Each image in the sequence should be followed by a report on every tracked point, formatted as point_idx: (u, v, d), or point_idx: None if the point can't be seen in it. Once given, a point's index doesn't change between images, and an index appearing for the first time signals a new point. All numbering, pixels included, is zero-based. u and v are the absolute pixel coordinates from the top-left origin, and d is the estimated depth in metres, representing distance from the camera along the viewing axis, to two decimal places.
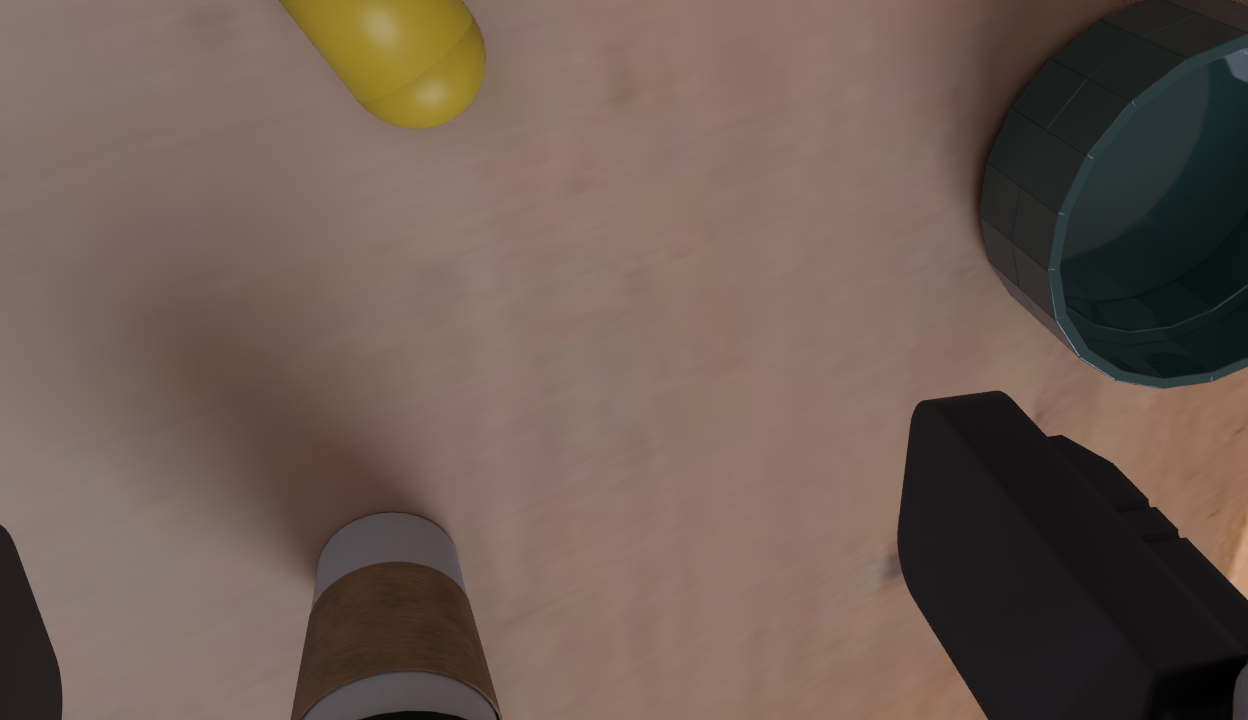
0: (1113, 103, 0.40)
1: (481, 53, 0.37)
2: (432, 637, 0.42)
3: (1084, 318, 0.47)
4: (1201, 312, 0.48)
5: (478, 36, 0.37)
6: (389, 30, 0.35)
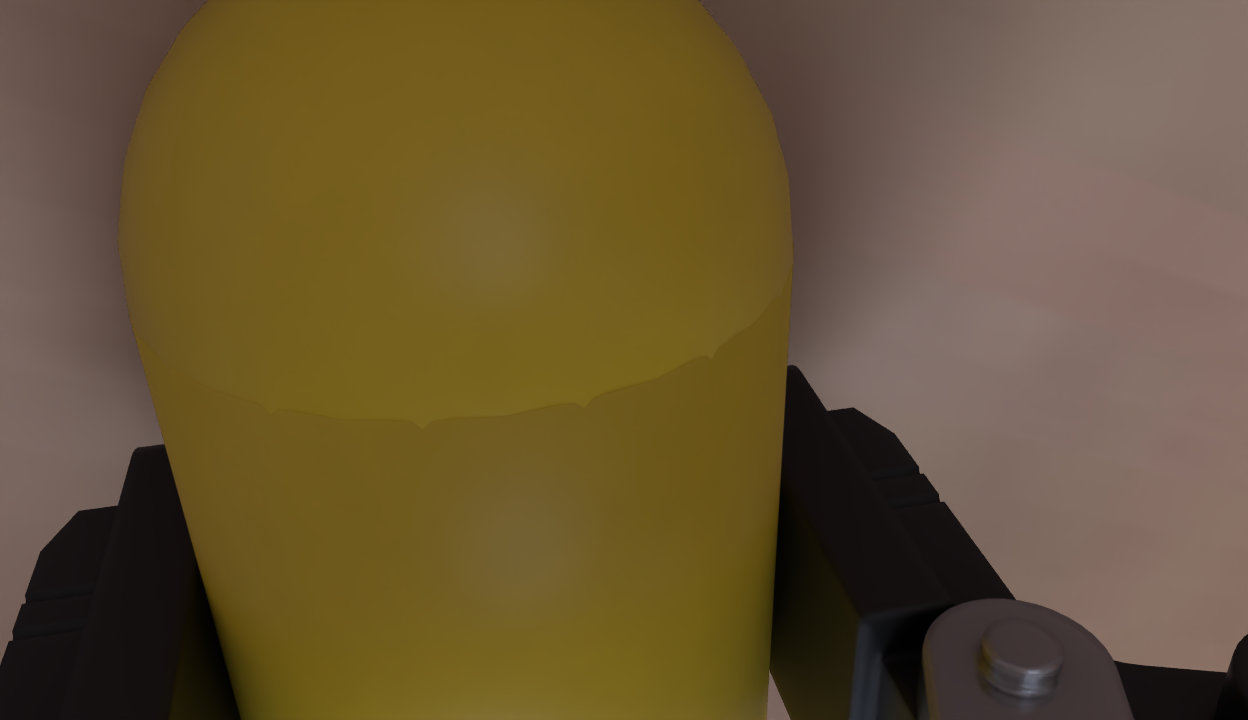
0: None
1: None
2: None
3: None
4: None
5: None
6: None
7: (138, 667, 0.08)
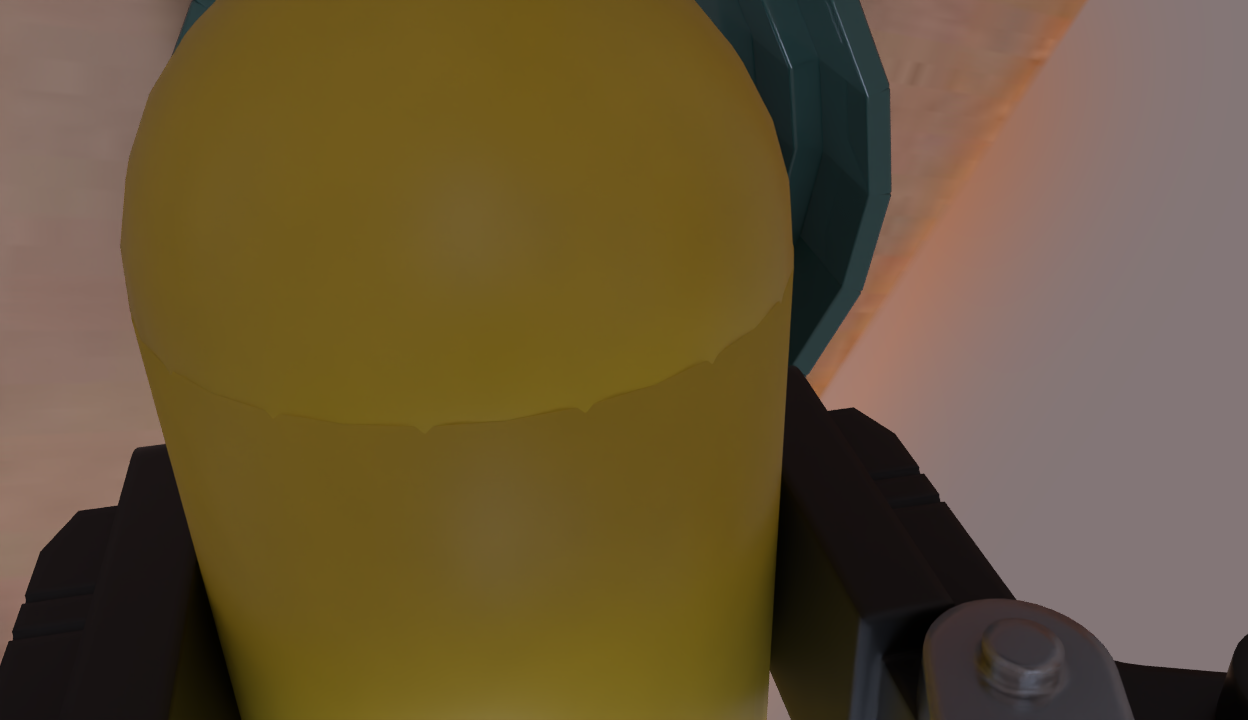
0: None
1: None
2: None
3: None
4: None
5: None
6: None
7: (138, 667, 0.08)
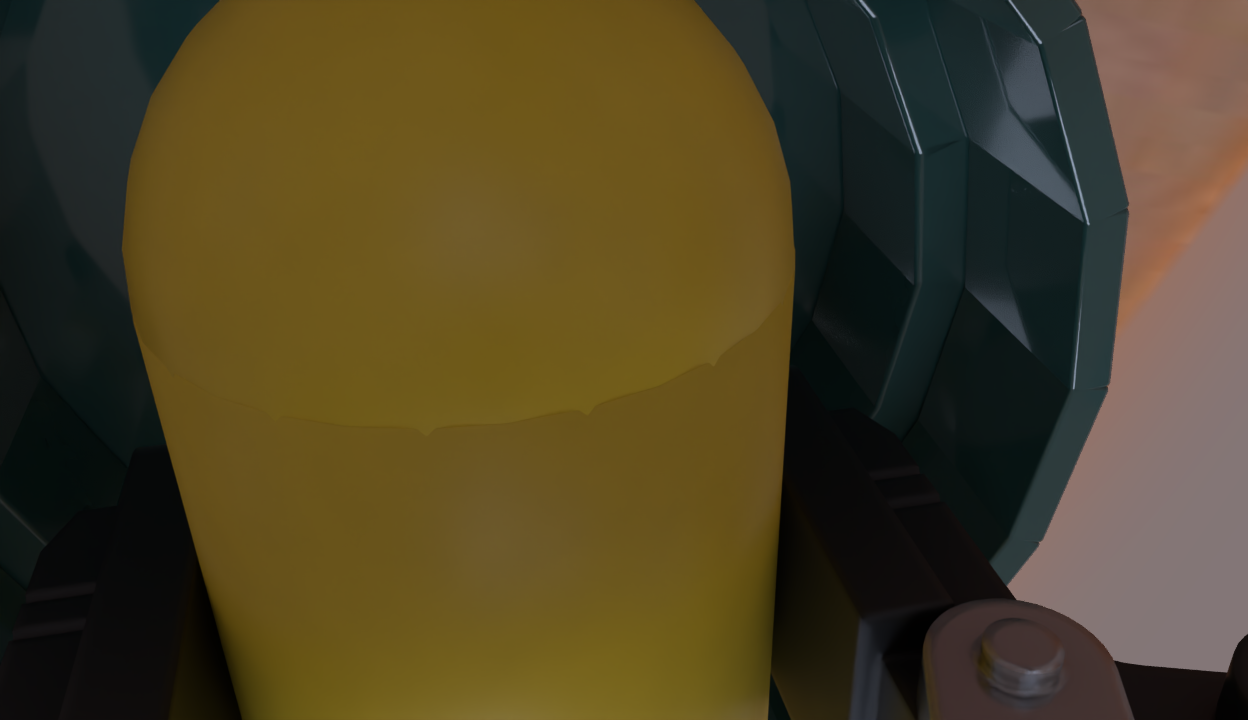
0: None
1: None
2: None
3: None
4: None
5: None
6: None
7: (138, 668, 0.08)
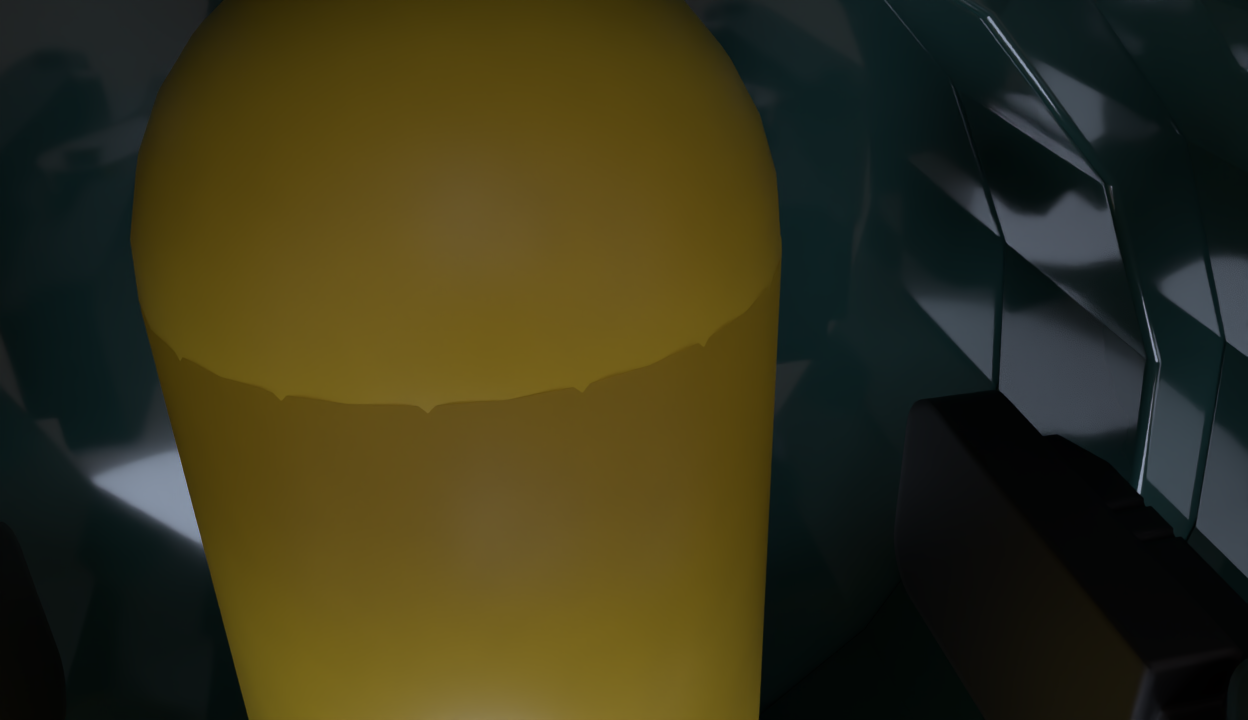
0: None
1: None
2: None
3: None
4: None
5: None
6: None
7: None
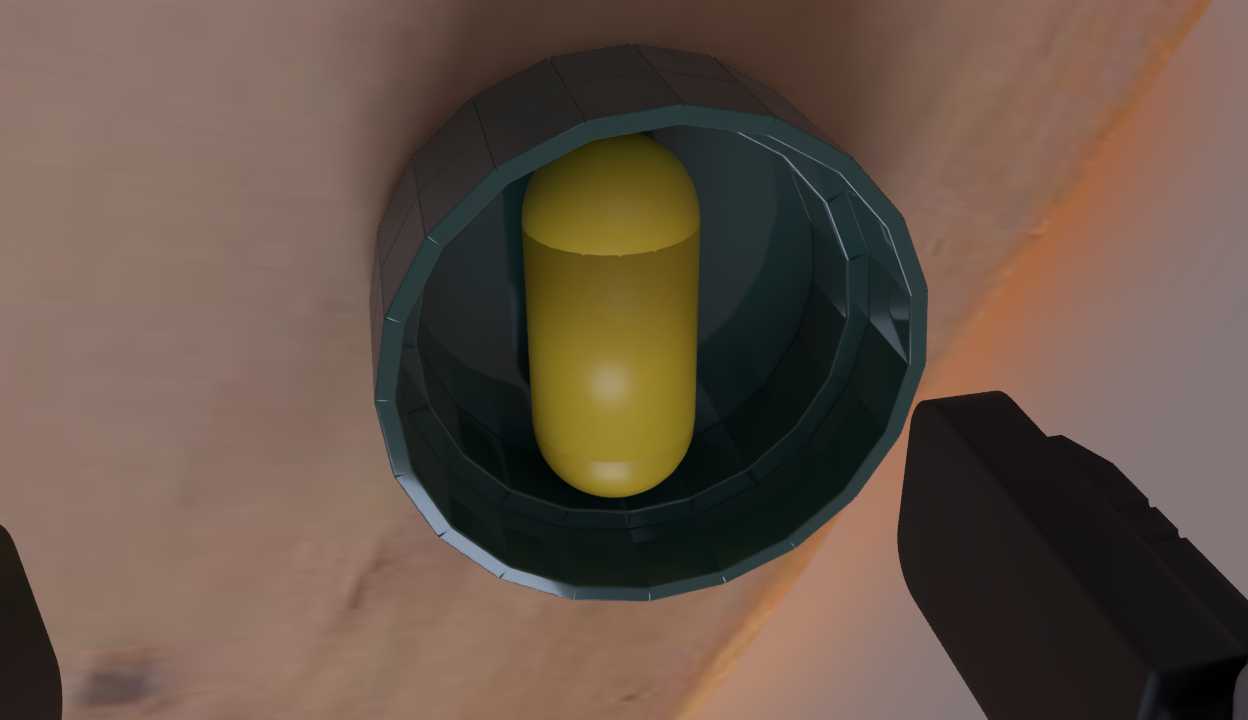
0: (567, 118, 0.26)
1: (633, 484, 0.32)
2: None
3: (452, 439, 0.32)
4: (613, 508, 0.34)
5: (643, 471, 0.31)
6: (549, 398, 0.31)
7: None
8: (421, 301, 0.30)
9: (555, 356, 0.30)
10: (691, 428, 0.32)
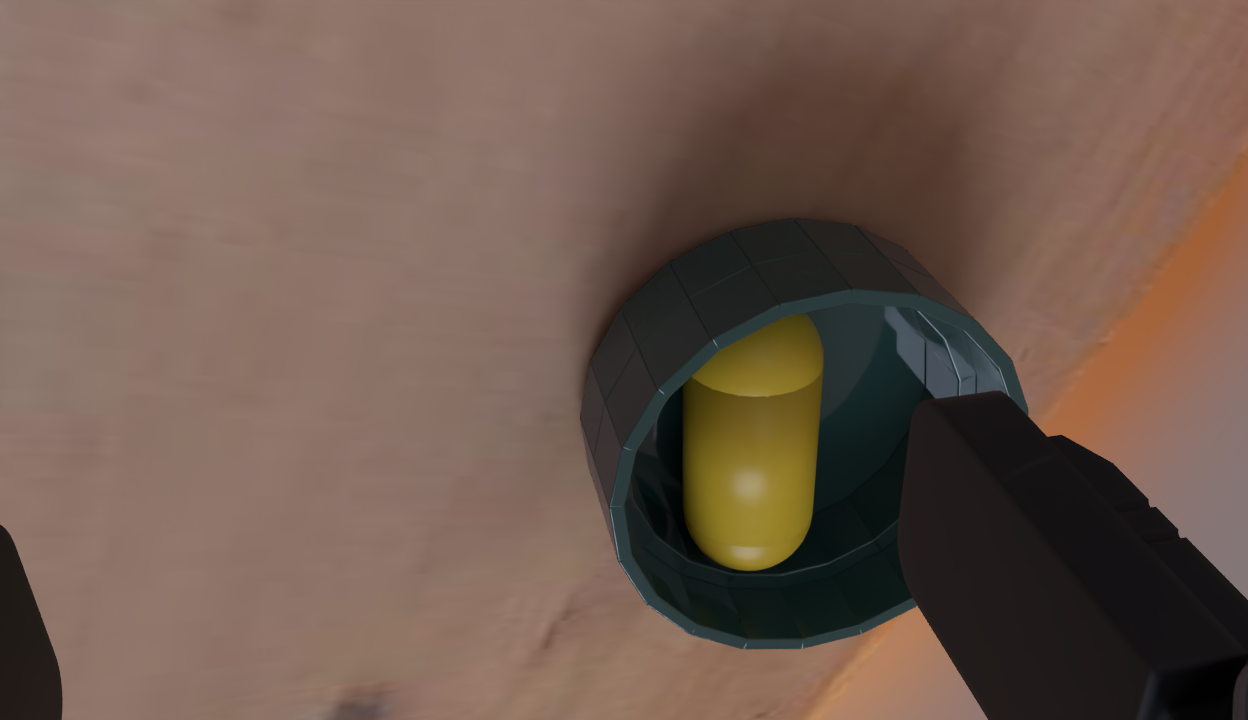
0: (762, 299, 0.34)
1: (744, 564, 0.40)
2: None
3: (648, 524, 0.40)
4: (767, 572, 0.43)
5: (752, 556, 0.40)
6: (688, 484, 0.40)
7: None
8: None
9: (693, 456, 0.39)
10: (801, 530, 0.40)
